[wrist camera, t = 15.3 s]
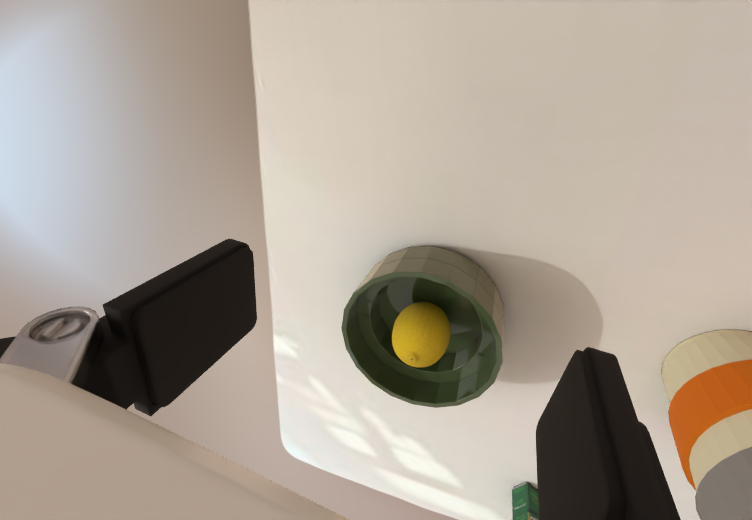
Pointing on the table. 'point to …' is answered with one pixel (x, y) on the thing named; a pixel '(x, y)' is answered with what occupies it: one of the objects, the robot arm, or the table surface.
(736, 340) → the reusable coffee cup
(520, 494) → the coffee box
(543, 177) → the table surface
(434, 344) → the lemon
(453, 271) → the green round bowl
